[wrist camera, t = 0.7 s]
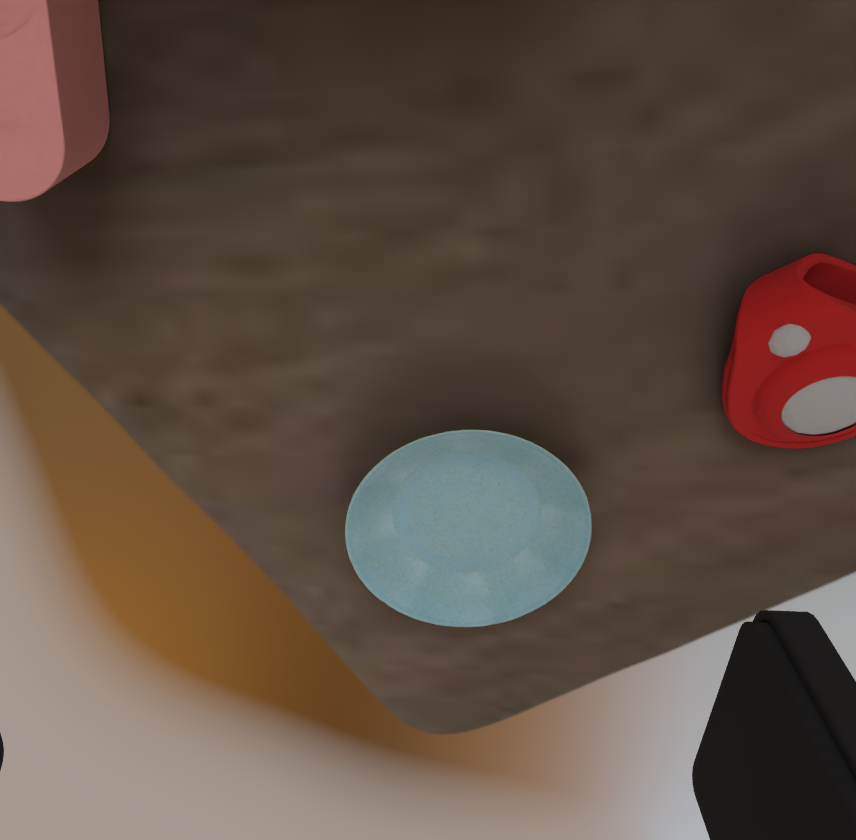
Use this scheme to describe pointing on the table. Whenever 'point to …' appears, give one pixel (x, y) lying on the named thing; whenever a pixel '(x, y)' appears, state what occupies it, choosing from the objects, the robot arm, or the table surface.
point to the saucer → (468, 528)
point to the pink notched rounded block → (49, 93)
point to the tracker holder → (795, 356)
